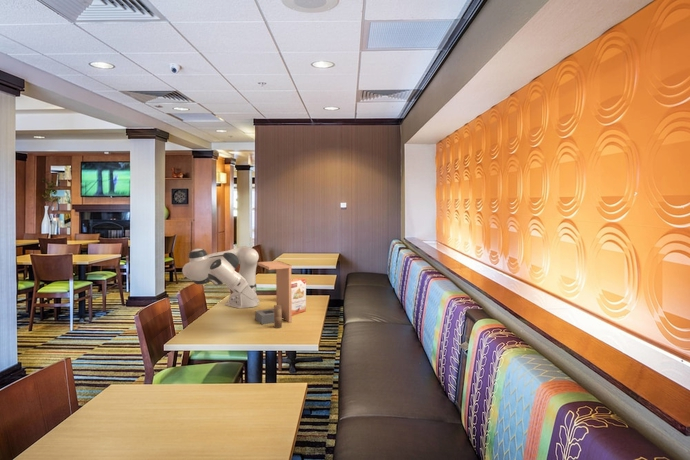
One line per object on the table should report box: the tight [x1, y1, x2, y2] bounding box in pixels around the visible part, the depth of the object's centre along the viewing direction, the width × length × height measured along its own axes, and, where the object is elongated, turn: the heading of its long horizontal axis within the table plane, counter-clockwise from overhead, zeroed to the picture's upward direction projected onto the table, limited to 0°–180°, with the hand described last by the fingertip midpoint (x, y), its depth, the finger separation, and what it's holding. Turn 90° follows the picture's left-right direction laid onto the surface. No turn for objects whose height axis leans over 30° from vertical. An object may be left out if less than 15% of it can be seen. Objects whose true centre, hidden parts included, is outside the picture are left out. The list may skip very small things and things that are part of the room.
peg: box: [273, 304, 283, 329], centre depth 230 cm, size 4×4×12 cm
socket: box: [254, 308, 274, 325], centre depth 243 cm, size 12×12×5 cm
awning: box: [257, 260, 293, 324], centre depth 244 cm, size 13×20×33 cm, turn 30°
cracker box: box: [291, 277, 307, 316], centre depth 259 cm, size 14×6×21 cm, turn 143°
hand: (255, 299), depth 223 cm, fingers open, 8 cm apart
